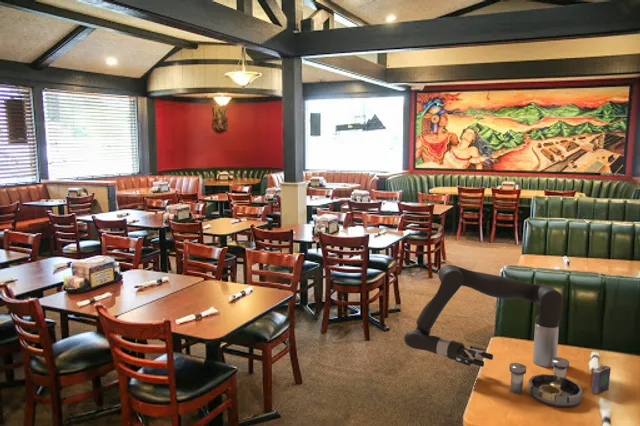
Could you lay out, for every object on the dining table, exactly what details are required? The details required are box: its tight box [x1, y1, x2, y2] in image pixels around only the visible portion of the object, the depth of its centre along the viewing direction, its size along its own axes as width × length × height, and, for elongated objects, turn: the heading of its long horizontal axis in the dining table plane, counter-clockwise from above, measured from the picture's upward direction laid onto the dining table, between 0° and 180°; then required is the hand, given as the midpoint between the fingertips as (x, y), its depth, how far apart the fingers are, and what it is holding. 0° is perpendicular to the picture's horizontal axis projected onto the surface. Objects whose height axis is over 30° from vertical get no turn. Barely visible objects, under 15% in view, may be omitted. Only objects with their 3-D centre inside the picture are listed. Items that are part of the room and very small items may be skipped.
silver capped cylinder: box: [508, 362, 527, 395], centre depth 193 cm, size 6×6×10 cm
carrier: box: [527, 356, 584, 409], centre depth 189 cm, size 18×18×12 cm
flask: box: [591, 363, 612, 396], centre depth 193 cm, size 9×3×11 cm, turn 121°
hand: (488, 360), depth 199 cm, fingers open, 8 cm apart
